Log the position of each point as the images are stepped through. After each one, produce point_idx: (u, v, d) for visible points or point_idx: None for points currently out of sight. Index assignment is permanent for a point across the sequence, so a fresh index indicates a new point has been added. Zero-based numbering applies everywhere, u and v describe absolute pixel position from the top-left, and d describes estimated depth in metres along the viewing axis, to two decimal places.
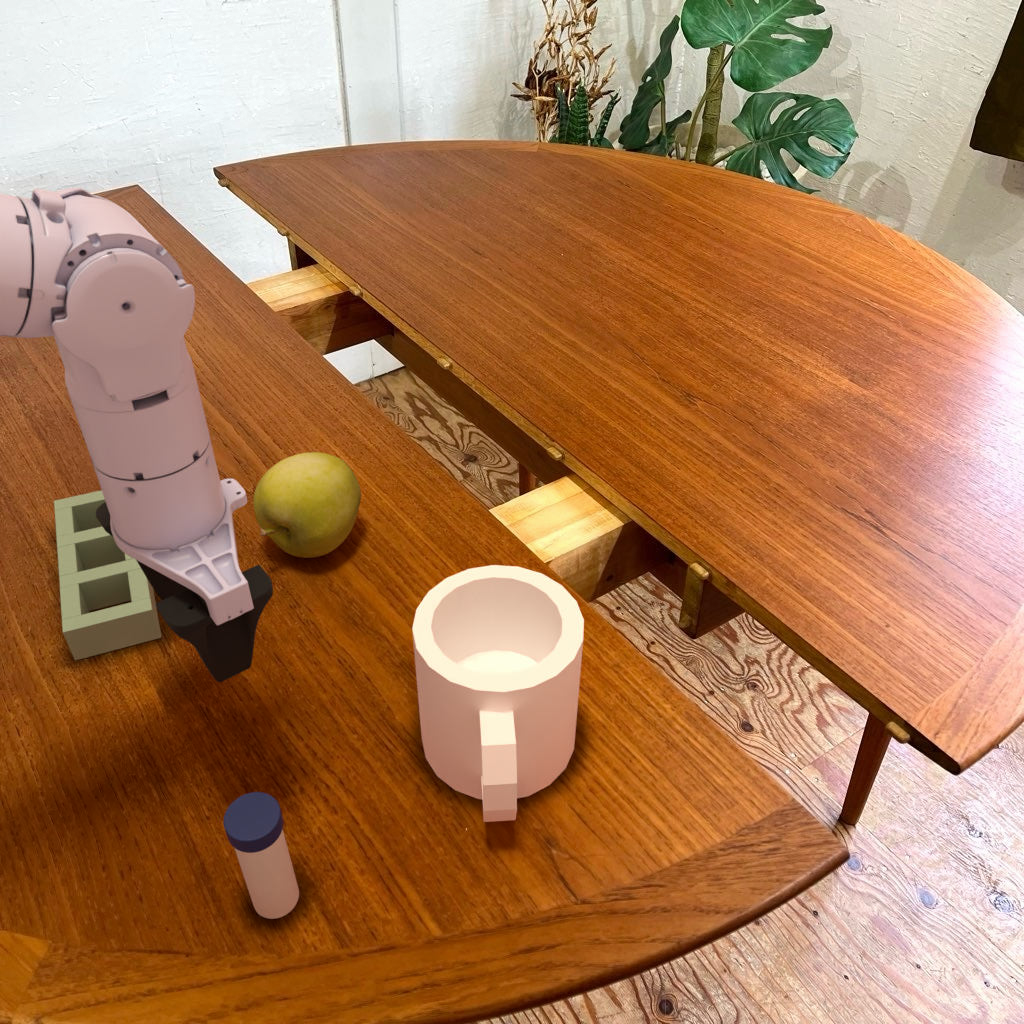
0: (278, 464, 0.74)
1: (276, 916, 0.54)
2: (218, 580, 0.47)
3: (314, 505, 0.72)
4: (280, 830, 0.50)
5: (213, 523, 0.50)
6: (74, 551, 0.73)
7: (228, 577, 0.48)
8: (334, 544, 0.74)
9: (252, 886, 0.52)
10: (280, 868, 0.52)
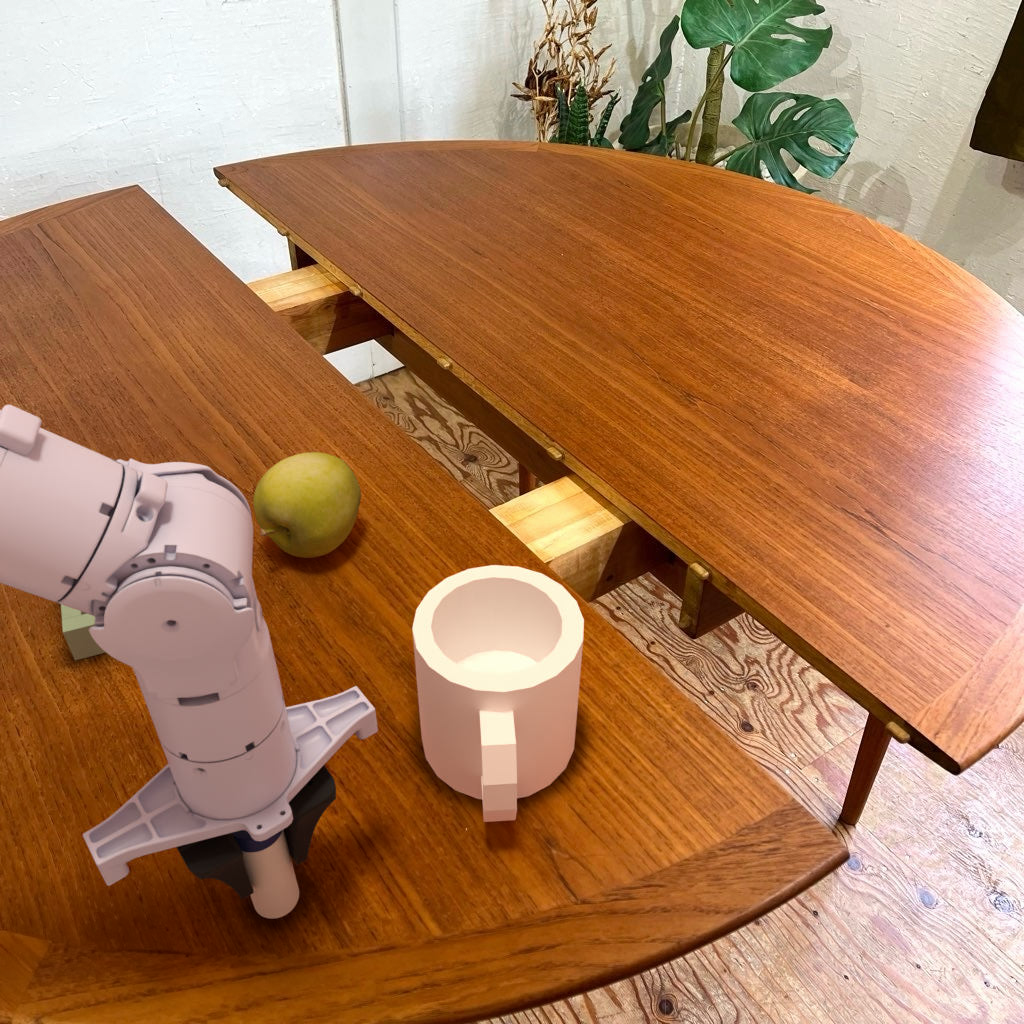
0: (278, 464, 0.74)
1: (276, 916, 0.54)
2: (110, 836, 0.44)
3: (314, 505, 0.72)
4: None
5: (199, 811, 0.45)
6: None
7: (125, 846, 0.44)
8: (334, 544, 0.74)
9: (252, 886, 0.52)
10: (281, 868, 0.52)
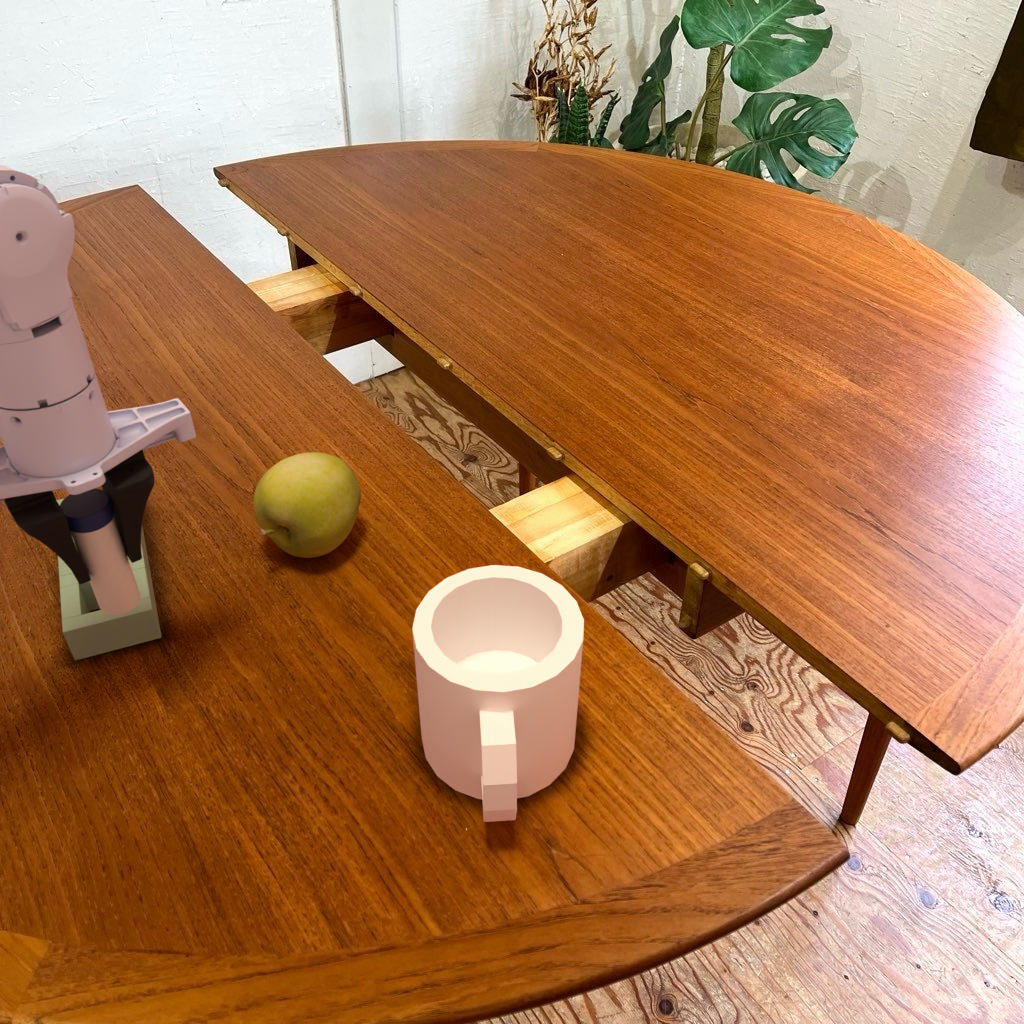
0: (278, 464, 0.74)
1: (117, 612, 0.62)
2: None
3: (314, 505, 0.72)
4: (109, 517, 0.58)
5: (23, 470, 0.53)
6: None
7: None
8: (334, 544, 0.74)
9: (91, 577, 0.60)
10: (114, 558, 0.60)
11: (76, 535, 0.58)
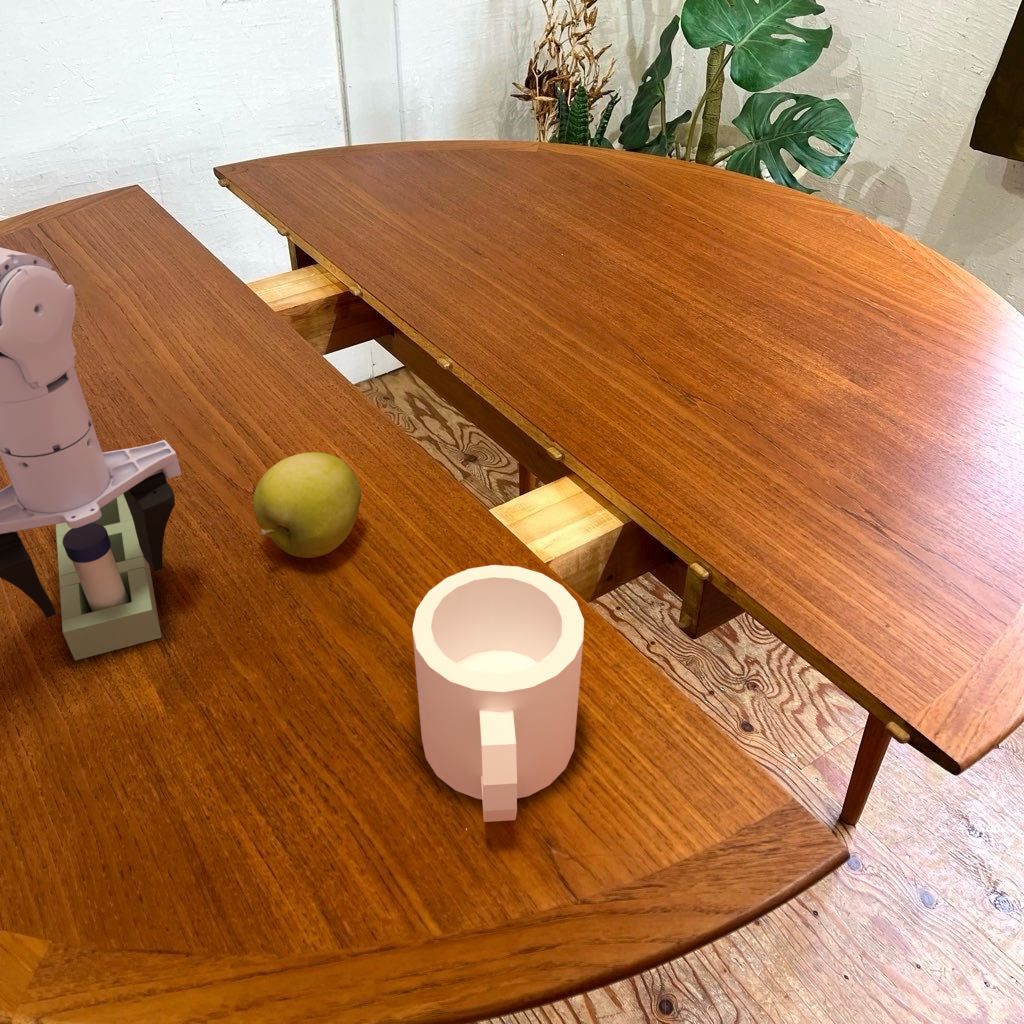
0: (278, 464, 0.74)
1: None
2: None
3: (314, 505, 0.72)
4: (106, 548, 0.66)
5: (30, 506, 0.61)
6: None
7: None
8: (334, 544, 0.74)
9: (90, 600, 0.68)
10: (111, 584, 0.68)
11: (77, 564, 0.66)
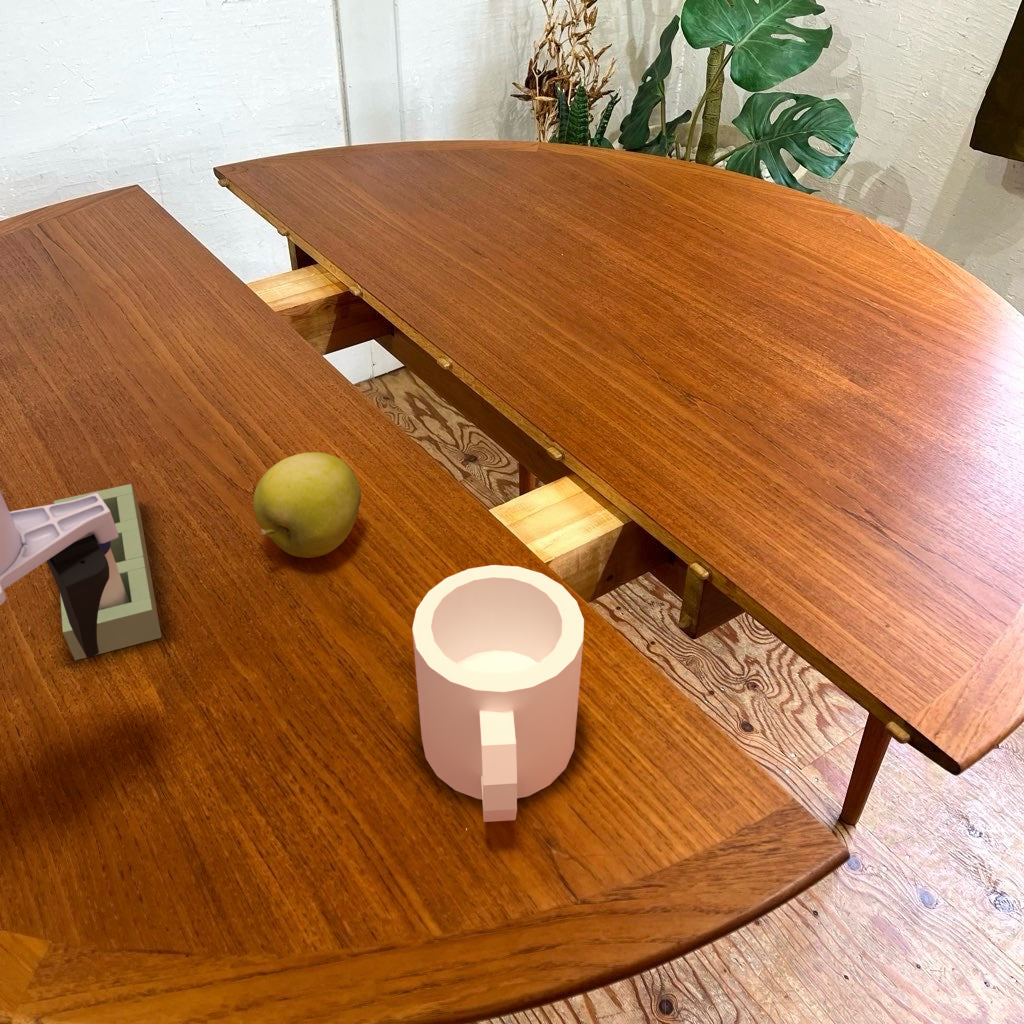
0: (278, 464, 0.74)
1: None
2: None
3: (314, 505, 0.72)
4: (106, 548, 0.66)
5: None
6: None
7: None
8: (334, 544, 0.74)
9: None
10: (111, 584, 0.68)
11: None
